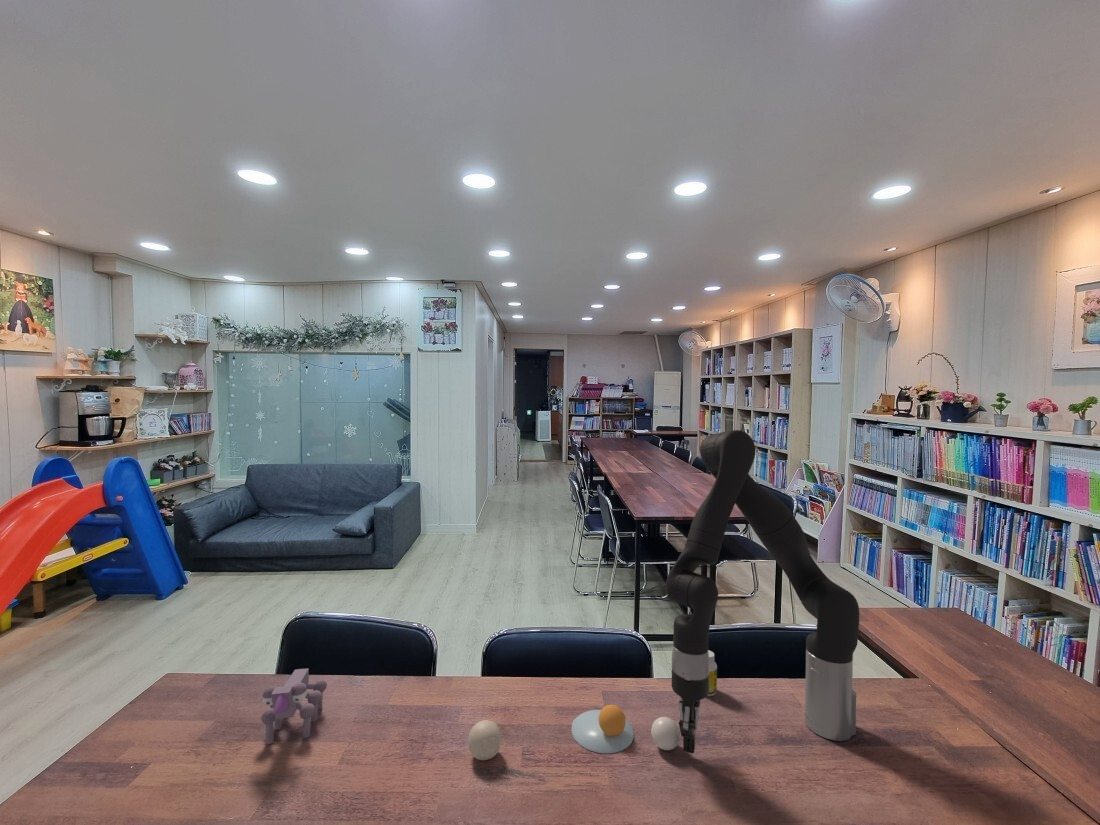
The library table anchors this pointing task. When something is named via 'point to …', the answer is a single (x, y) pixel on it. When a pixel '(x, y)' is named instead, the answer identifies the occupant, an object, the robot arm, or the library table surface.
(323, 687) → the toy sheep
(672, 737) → the cue ball
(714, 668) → the supplement bottle
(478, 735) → the beige egg
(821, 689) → the robot arm
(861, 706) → the library table surface
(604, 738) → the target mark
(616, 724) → the object ball
